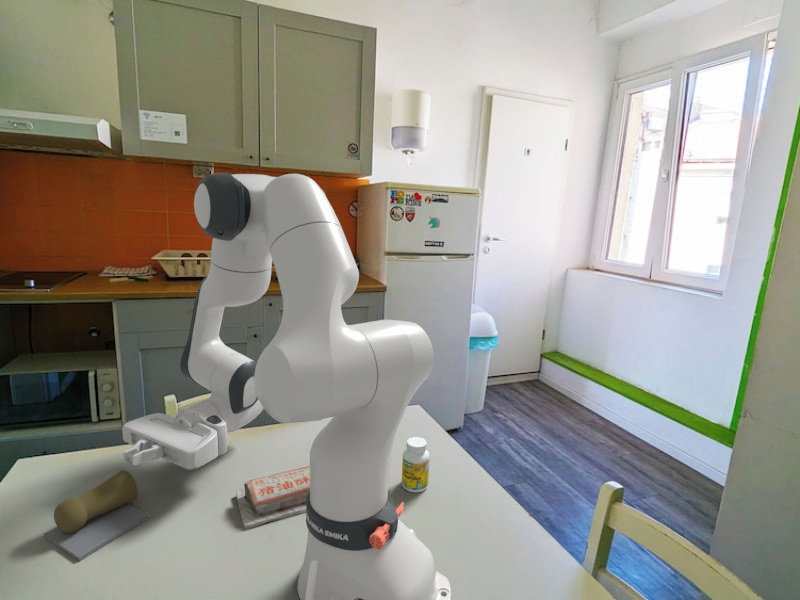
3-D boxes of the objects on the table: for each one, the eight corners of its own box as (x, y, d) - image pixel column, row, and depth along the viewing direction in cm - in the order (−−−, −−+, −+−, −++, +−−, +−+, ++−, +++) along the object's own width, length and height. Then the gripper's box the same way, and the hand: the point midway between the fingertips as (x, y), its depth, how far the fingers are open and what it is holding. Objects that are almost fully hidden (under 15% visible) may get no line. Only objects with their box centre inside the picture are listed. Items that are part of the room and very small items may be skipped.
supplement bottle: (431, 481, 89) (433, 438, 87) (423, 496, 84) (425, 451, 82) (406, 474, 91) (408, 432, 89) (397, 489, 86) (399, 445, 84)
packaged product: (326, 453, 90) (344, 480, 81) (326, 474, 91) (343, 503, 82) (234, 475, 81) (243, 507, 72) (235, 498, 82) (244, 532, 73)
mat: (149, 517, 75) (149, 514, 75) (79, 561, 65) (79, 557, 65) (114, 498, 79) (114, 495, 79) (44, 537, 70) (43, 533, 70)
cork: (128, 506, 79) (60, 545, 70) (112, 478, 80) (43, 512, 71) (142, 493, 77) (74, 531, 67) (125, 464, 78) (56, 497, 68)
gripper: (162, 400, 92) (91, 427, 79) (231, 424, 83) (164, 459, 71) (164, 427, 93) (95, 458, 81) (232, 454, 84) (167, 494, 72)
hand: (128, 459), depth 76 cm, fingers closed
